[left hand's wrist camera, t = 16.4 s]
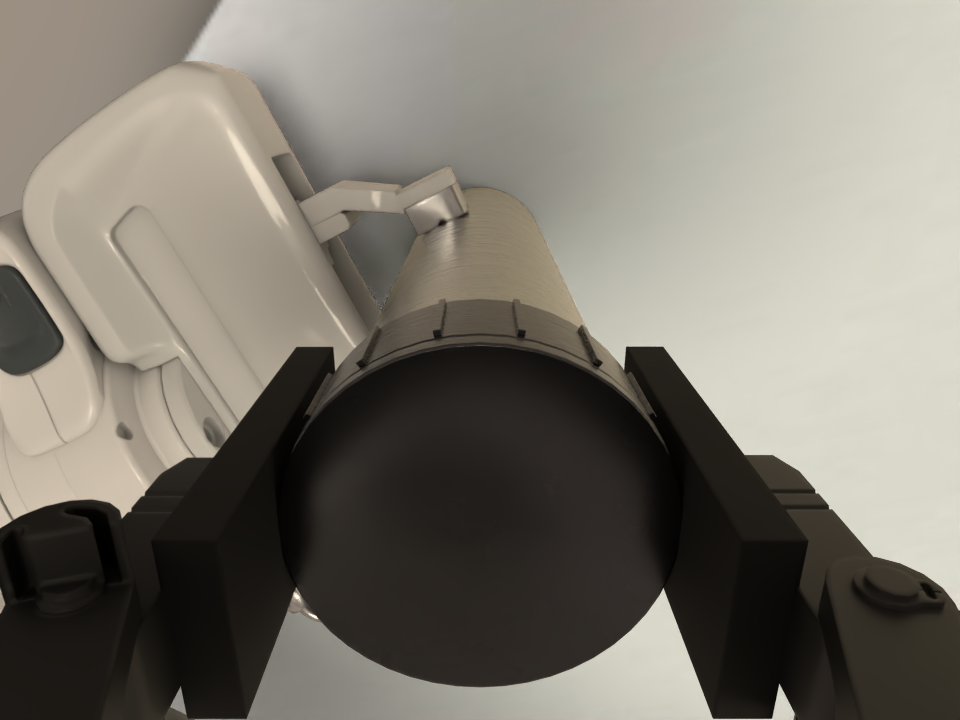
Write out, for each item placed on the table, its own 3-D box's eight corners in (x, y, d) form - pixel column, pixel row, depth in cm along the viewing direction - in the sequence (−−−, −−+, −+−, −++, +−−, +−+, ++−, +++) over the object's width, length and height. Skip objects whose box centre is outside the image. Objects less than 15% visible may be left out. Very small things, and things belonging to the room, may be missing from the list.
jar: (565, 269, 29) (711, 552, 11) (462, 333, 30) (435, 691, 12) (498, 161, 28) (537, 277, 9) (392, 233, 29) (234, 466, 10)
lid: (665, 295, 11) (708, 340, 9) (635, 596, 13) (664, 689, 11) (293, 296, 11) (250, 341, 9) (325, 597, 13) (295, 691, 11)
